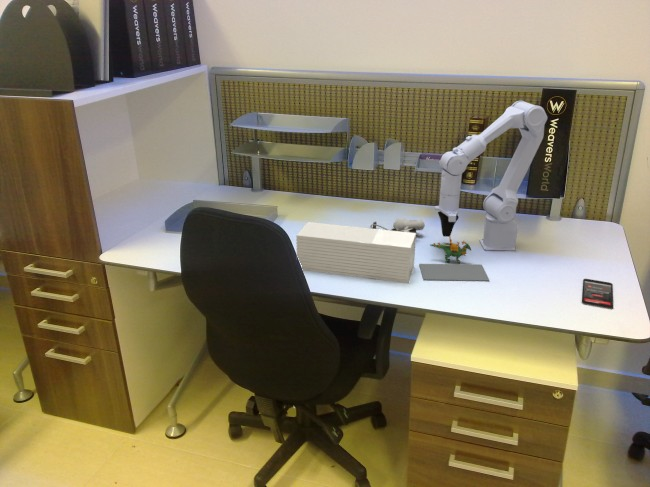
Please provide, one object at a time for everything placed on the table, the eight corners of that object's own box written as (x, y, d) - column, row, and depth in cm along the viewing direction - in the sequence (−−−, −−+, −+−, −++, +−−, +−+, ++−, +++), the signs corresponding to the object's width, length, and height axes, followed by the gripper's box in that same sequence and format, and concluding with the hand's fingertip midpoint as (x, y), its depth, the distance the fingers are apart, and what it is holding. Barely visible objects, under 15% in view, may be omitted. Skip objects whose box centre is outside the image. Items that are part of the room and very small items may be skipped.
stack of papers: (413, 267, 166) (416, 232, 161) (408, 283, 156) (410, 247, 152) (308, 255, 174) (307, 221, 169) (297, 269, 164) (296, 235, 160)
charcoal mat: (481, 265, 166) (481, 264, 166) (489, 281, 157) (489, 280, 157) (419, 264, 167) (419, 263, 167) (423, 280, 158) (423, 279, 157)
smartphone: (581, 302, 145) (583, 278, 158) (581, 305, 145) (582, 280, 158) (613, 308, 142) (612, 282, 155) (612, 311, 143) (612, 285, 155)
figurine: (469, 265, 166) (472, 239, 163) (428, 261, 169) (430, 236, 165) (469, 261, 169) (472, 235, 165) (428, 257, 171) (430, 232, 168)
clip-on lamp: (364, 245, 188) (415, 244, 178) (360, 227, 185) (412, 225, 175) (379, 230, 196) (428, 228, 187) (375, 213, 194) (425, 210, 184)
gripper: (433, 185, 175) (429, 226, 181) (439, 201, 162) (436, 245, 167) (456, 185, 175) (452, 226, 180) (465, 201, 162) (460, 245, 167)
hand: (446, 235), depth 174 cm, fingers closed
